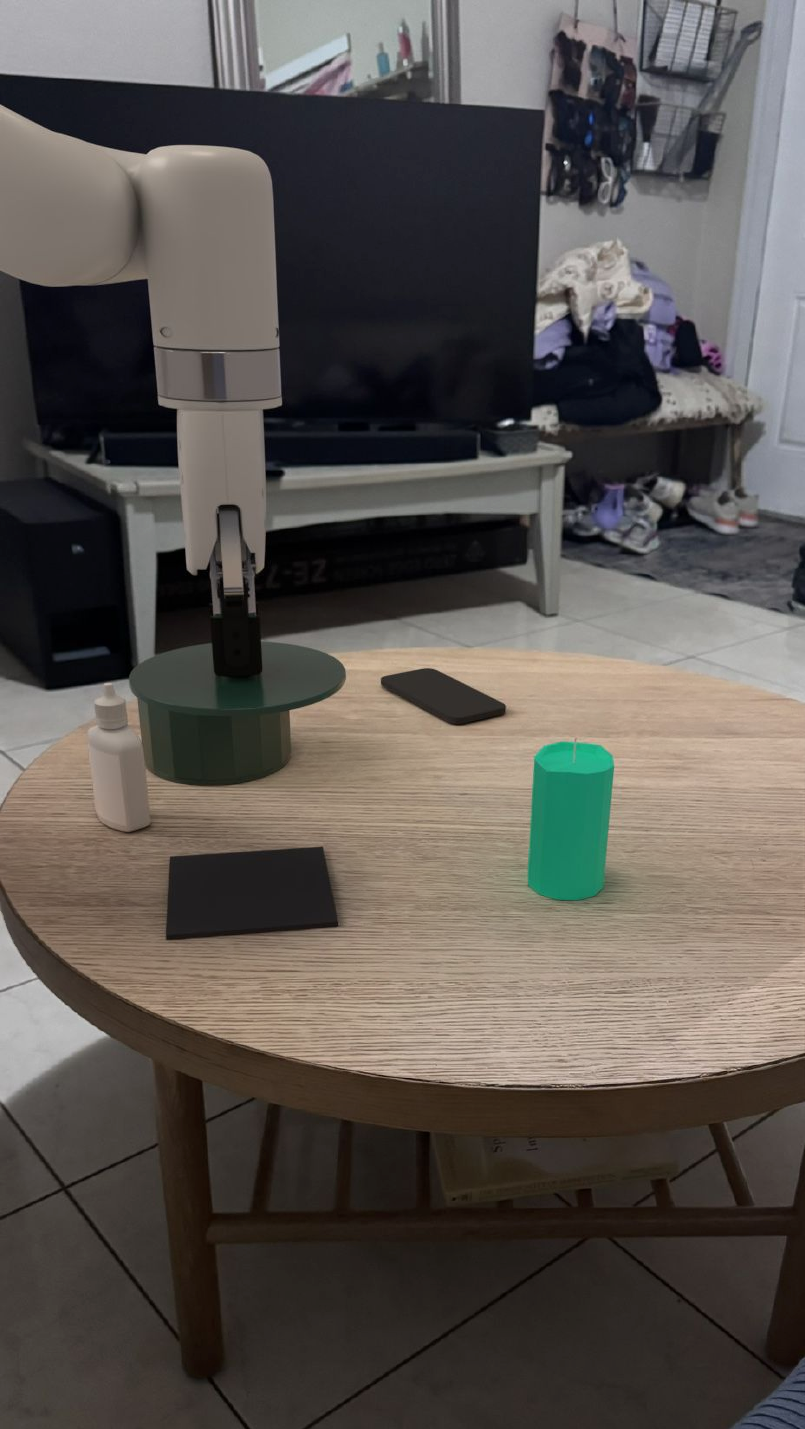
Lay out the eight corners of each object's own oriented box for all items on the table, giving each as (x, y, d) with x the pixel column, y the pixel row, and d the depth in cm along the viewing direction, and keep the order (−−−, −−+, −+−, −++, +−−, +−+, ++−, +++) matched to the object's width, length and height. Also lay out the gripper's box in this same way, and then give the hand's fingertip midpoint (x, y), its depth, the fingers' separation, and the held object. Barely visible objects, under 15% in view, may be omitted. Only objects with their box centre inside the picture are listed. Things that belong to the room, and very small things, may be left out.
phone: (453, 719, 119) (376, 677, 130) (453, 727, 119) (376, 684, 130) (511, 706, 123) (430, 666, 134) (510, 713, 123) (430, 673, 134)
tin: (141, 789, 103) (132, 698, 100) (147, 733, 115) (139, 651, 112) (295, 781, 106) (291, 692, 102) (285, 727, 118) (282, 646, 114)
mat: (166, 940, 81) (165, 935, 81) (170, 860, 91) (169, 856, 91) (338, 926, 83) (338, 921, 83) (323, 850, 94) (323, 846, 94)
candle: (561, 856, 94) (571, 716, 89) (619, 883, 90) (633, 739, 85) (510, 880, 90) (517, 735, 85) (568, 909, 86) (580, 760, 81)
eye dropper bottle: (96, 837, 95) (79, 697, 89) (95, 808, 100) (78, 674, 94) (152, 831, 96) (137, 693, 91) (148, 803, 101) (134, 671, 95)
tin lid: (124, 730, 72) (113, 635, 70) (135, 659, 85) (127, 576, 83) (357, 719, 75) (356, 627, 73) (335, 651, 88) (332, 571, 85)
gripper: (160, 367, 78) (183, 634, 86) (151, 392, 64) (179, 710, 72) (273, 368, 79) (285, 631, 87) (289, 393, 65) (301, 704, 73)
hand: (237, 664), depth 80 cm, fingers closed on tin lid, 2 cm apart
